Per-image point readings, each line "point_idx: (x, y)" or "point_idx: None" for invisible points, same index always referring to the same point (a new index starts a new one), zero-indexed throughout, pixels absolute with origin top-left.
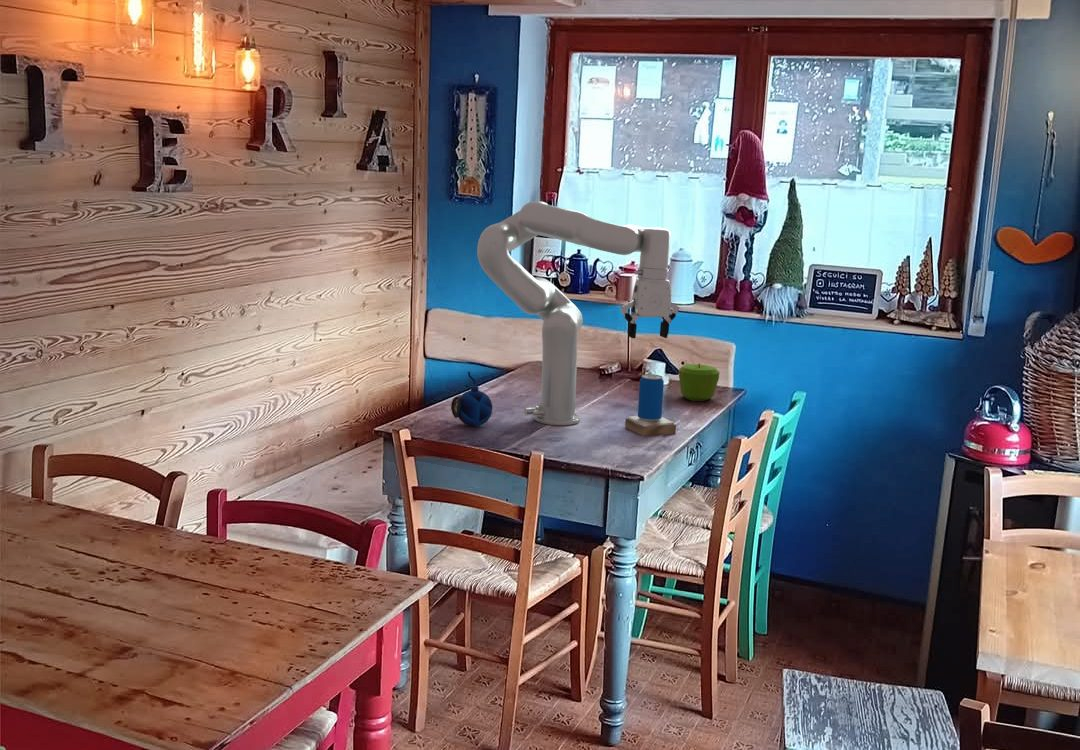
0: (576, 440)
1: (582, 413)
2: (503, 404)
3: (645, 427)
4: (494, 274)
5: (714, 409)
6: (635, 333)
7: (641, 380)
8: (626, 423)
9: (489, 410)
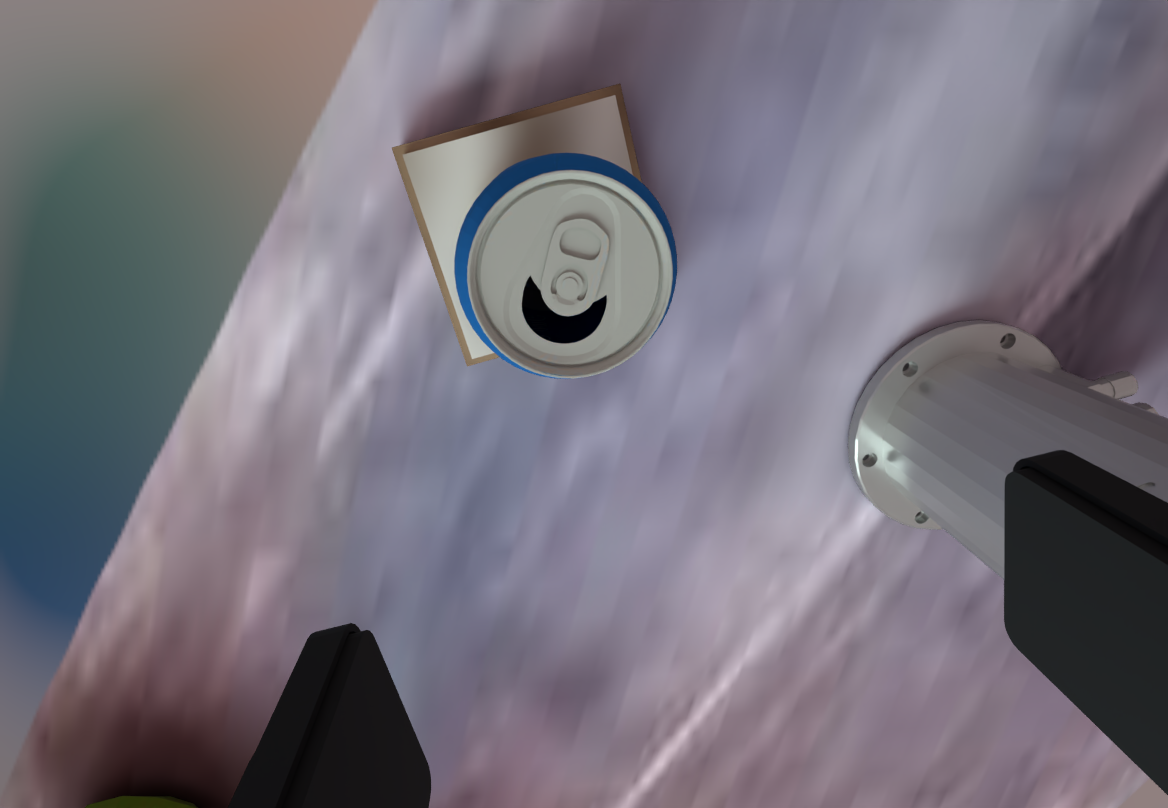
0: (1010, 10)
1: (786, 554)
2: None
3: (607, 87)
4: None
5: (86, 663)
6: (1096, 495)
7: (674, 252)
8: None
9: None
